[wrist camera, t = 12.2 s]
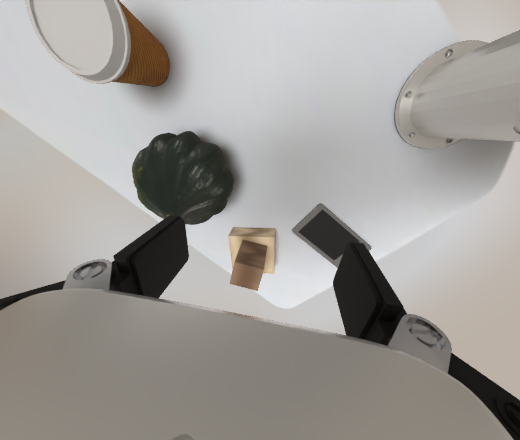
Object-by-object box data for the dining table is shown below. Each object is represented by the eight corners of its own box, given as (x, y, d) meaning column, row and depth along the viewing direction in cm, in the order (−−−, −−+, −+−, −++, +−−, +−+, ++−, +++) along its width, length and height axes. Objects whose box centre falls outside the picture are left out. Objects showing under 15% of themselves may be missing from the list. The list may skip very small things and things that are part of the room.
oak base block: (274, 227, 39) (274, 237, 36) (274, 261, 43) (274, 273, 39) (233, 226, 40) (228, 236, 37) (237, 259, 44) (233, 271, 40)
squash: (136, 101, 26) (81, 192, 21) (240, 121, 26) (212, 217, 21) (172, 165, 39) (144, 231, 34) (241, 178, 40) (225, 246, 34)
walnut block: (267, 245, 36) (263, 269, 30) (261, 264, 39) (257, 290, 32) (242, 239, 36) (234, 262, 30) (238, 258, 39) (229, 283, 32)
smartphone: (290, 229, 39) (290, 231, 38) (319, 201, 36) (320, 202, 35) (339, 268, 42) (340, 270, 41) (371, 246, 38) (372, 248, 38)
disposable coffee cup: (176, 22, 26) (102, -54, 15) (182, 101, 30) (127, 85, 20) (113, 17, 27) (-2, -60, 16) (127, 95, 31) (44, 76, 20)
